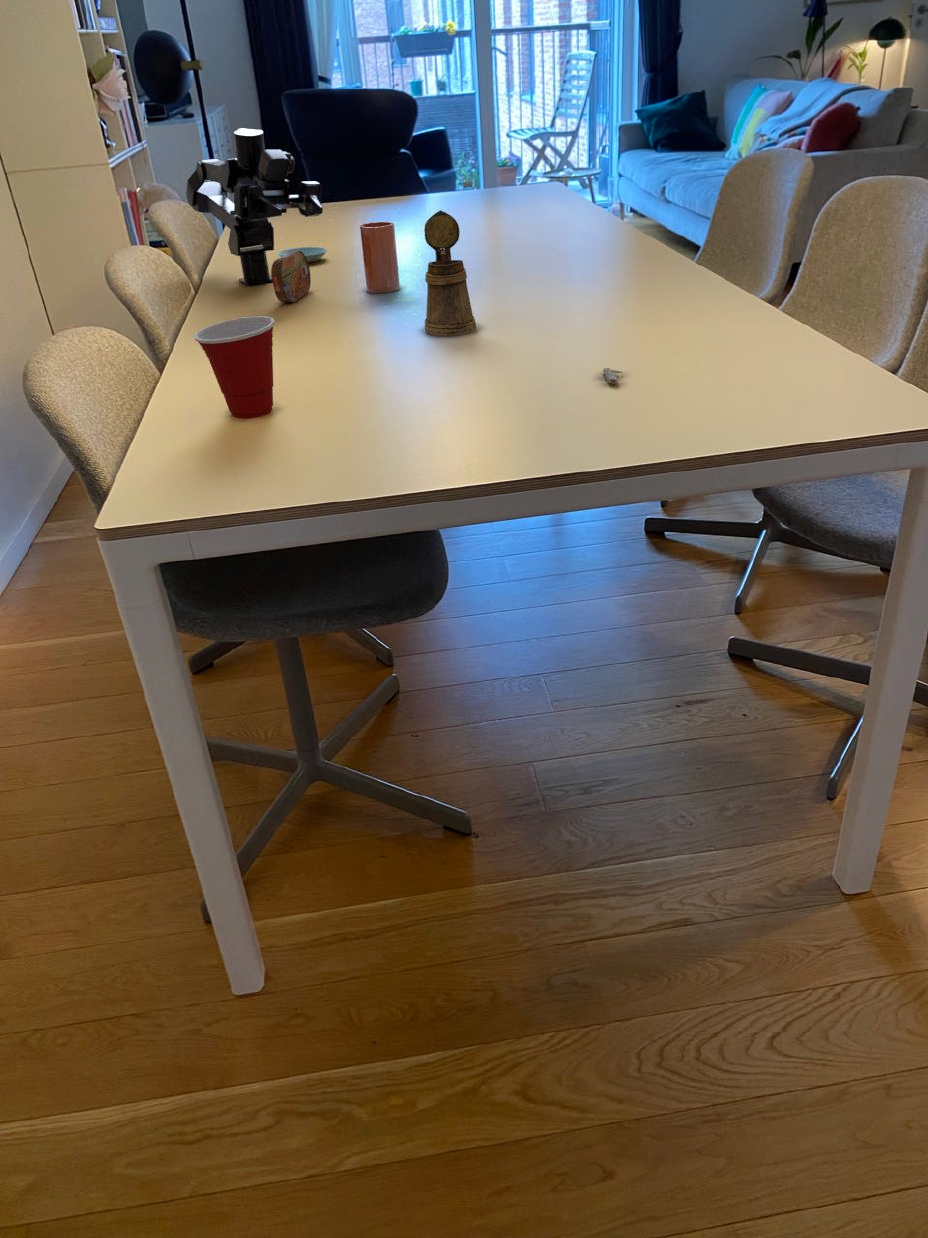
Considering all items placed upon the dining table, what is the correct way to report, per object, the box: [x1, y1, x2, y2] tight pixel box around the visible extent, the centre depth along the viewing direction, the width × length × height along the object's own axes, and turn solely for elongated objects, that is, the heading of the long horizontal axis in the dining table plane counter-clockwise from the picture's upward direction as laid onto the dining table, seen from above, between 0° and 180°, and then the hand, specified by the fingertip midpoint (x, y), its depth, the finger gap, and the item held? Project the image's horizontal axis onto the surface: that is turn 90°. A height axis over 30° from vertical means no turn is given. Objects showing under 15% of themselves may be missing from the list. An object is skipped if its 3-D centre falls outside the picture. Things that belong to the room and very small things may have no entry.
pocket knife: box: [602, 367, 623, 384], centre depth 129 cm, size 6×1×3 cm
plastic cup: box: [193, 315, 275, 420], centre depth 123 cm, size 11×11×12 cm
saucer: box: [277, 246, 328, 264], centre depth 219 cm, size 12×12×2 cm
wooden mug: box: [423, 209, 477, 337], centre depth 154 cm, size 9×14×18 cm, turn 4°
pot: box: [359, 221, 401, 294], centre depth 185 cm, size 7×7×12 cm
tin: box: [270, 251, 312, 303], centre depth 184 cm, size 15×3×8 cm, turn 168°
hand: (301, 211), depth 176 cm, fingers open, 9 cm apart
